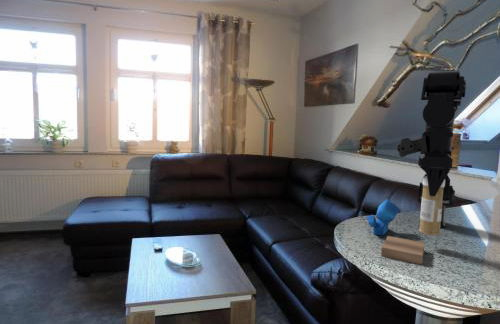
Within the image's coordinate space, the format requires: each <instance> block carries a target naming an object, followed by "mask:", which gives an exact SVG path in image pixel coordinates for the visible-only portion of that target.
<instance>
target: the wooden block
mask: <svg viewBox="0 0 500 324" xmlns="http://www.w3.org/2000/svg"><path fill="white" fill-rule="evenodd" d="M424 252H425V242H424V241H417V240H413V239H406V238H401V237H396V236H391V235H387V237H386V239H385V240H384V243H383V244H382V246H381V255H380V256H381V257H384V258H390V259H393V260H398V261H403V262H409V263H413V264H417V265H422V264H423V259H424Z"/></svg>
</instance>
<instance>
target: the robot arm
mask: <svg viewBox="0 0 500 324" xmlns="http://www.w3.org/2000/svg"><path fill="white" fill-rule="evenodd" d="M422 84H423V85H422V91H421V97H420V100H421V102H427V103H426V105H424V108H423V110H422V119H423V120H424V131H423V132H422V133H421V137H420V138H416V139H413V140H412V139H411V138H409V137H406V138H405V137H404V138H402V139H400V143H397V144H396V149H397V153H398V155H399V158H404V157H407V155H412V154H416V153H419V152H420V156H418V165H417V166H419V168H420V169H421V170H422V171H423V172H424V173H425V174H424V175H423V177H426V176H427V180H428V187H429V194H430V196H436V194H437V192H438V190H439V189H440V187H441V185H442V183H443V182H444V180H445V187H444V189H443V199H442V215H441V223H440V228H446V220H445V215H446V214H445V212H446V206H447V207H454V203H455V195H456V190H454V186H453V185H451V179H450V177H449V173H450V171H451V169H453V161H454V160H453V157H452V145H453V137H454V127H455V125H454V124H455V115H456V114H457V112H458V106H460V107H461V104H462V99H463V98H466V88H467V87H466V86H467V80H466V79H465V76H464V75H461V71H460V70H450V71H449V70H448V71H446V70H445V71H428V72H427V77H426V76H425V77H423V83H422ZM422 194H423V180H422V181H421V182H419V186H418V200H417V202H418V203H421V202H422Z"/></svg>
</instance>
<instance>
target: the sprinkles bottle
mask: <svg viewBox="0 0 500 324" xmlns="http://www.w3.org/2000/svg"><path fill="white" fill-rule="evenodd" d="M422 181H423V194H422V202H420V203H421V204H420V217H419V218H420V219H419V229H418V231H419V232H420V233H421V234H424V235H427V236H439V235H441V227H440V223H441V215H442V199H443V189H444V187H445V180H444V182H443V183H442V185H441V187H440V189H439V190H438V192H437V194H436V196H430V194H429V187H428V180H427V176H426V177H424V176H423V177H422Z"/></svg>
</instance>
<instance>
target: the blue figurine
mask: <svg viewBox="0 0 500 324" xmlns="http://www.w3.org/2000/svg"><path fill="white" fill-rule="evenodd" d="M399 212H400V208H399V207H398V206H397V205H396V204H394V203H393V202H392V201H391V200H390V199H389V198H386V199H385V200H384V201H383V202H382V203H381V204H380V205H378V207H377V211H376V215H374V214H370V215H368V216H366V217H365V218H366V220H367V223H368V225H369V227H370V228H372V229H373V230H372V233H373V235H375V234H376V235H375V236H380V235H381V237H382V236H384V235H385V234H386V233H387V232H388V231H389V224H390V223H391V222H392V221H394V219H395V218H396V217H397V215H398V213H399ZM376 218H377V219H376Z"/></svg>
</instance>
